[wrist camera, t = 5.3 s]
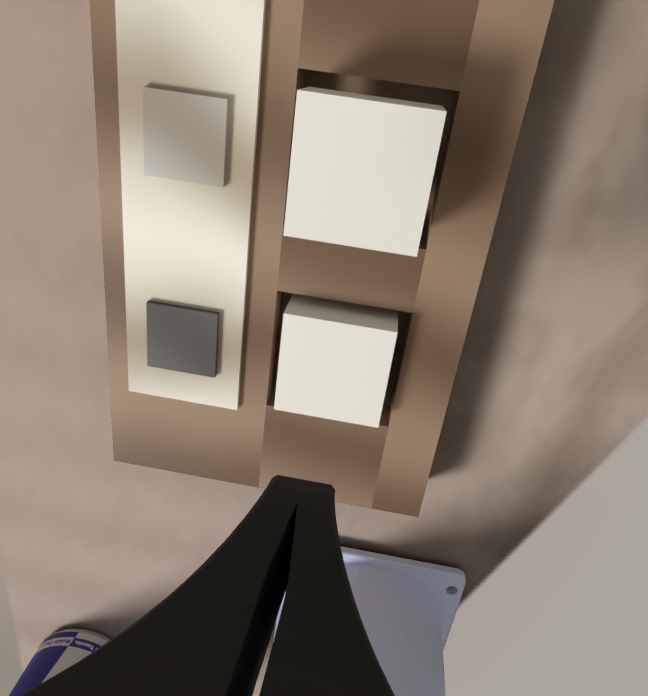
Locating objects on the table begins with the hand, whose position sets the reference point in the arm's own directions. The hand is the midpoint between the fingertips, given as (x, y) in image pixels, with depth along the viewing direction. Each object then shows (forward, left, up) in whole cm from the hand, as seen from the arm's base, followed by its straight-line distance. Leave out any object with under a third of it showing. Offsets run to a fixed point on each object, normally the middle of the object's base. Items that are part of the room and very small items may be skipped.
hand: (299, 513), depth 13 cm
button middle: (+7, 0, -7) cm, 10 cm away
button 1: (0, 0, -9) cm, 9 cm away
